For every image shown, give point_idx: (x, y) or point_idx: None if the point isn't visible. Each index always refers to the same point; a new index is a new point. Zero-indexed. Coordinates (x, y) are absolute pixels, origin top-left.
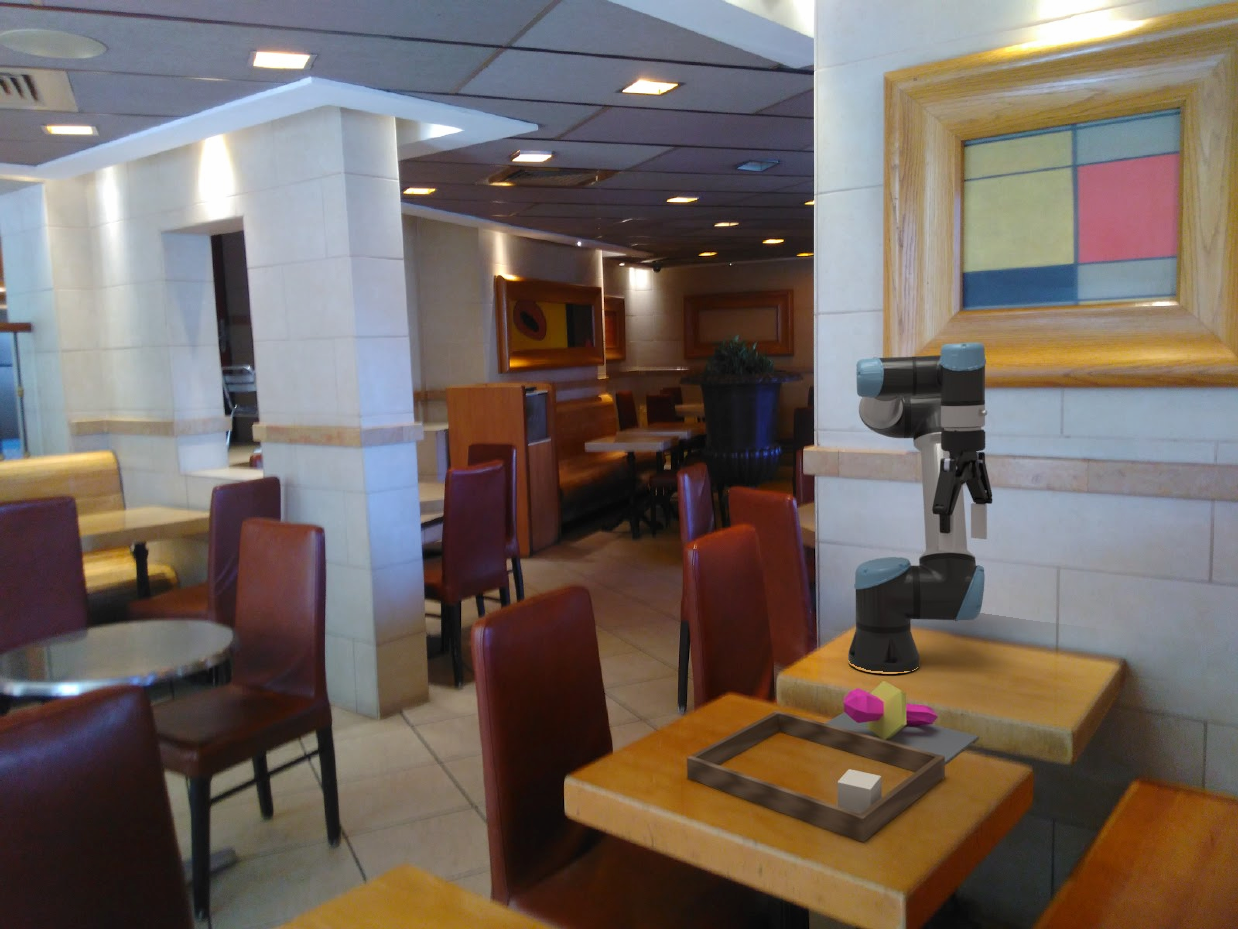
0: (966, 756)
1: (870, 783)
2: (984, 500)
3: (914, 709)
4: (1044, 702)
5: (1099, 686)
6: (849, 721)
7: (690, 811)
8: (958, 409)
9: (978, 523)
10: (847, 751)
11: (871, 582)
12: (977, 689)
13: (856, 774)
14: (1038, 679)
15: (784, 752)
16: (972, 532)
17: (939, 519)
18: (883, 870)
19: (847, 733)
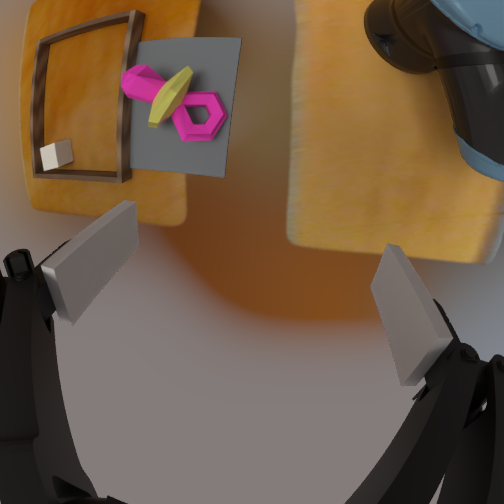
0: (178, 179)
1: (48, 166)
2: (418, 397)
3: (177, 126)
4: (359, 216)
5: (418, 256)
6: (191, 53)
7: (24, 78)
8: None
9: (393, 302)
10: None
11: None
12: (373, 146)
13: (51, 152)
14: (424, 204)
15: (105, 51)
16: (391, 259)
17: (56, 254)
18: (35, 194)
19: (119, 89)
